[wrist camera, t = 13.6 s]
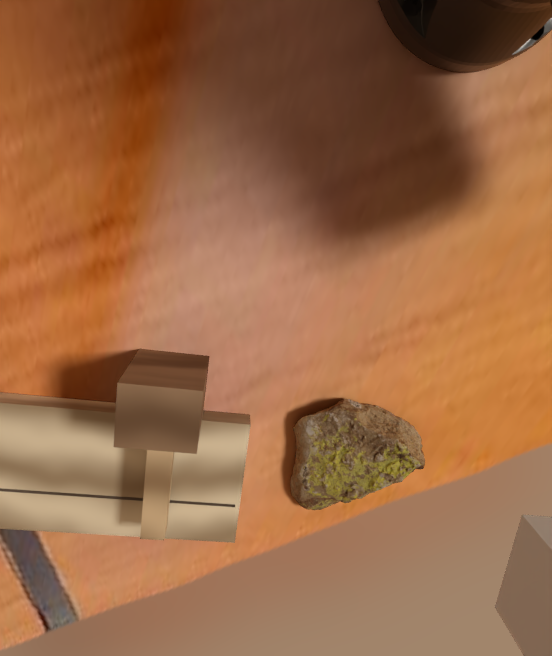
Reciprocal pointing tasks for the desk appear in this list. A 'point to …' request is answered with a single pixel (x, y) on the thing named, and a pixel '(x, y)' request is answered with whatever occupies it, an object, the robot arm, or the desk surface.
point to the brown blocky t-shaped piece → (160, 422)
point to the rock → (351, 453)
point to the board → (111, 472)
